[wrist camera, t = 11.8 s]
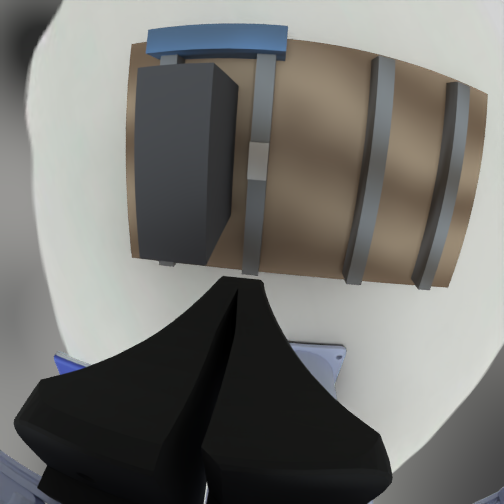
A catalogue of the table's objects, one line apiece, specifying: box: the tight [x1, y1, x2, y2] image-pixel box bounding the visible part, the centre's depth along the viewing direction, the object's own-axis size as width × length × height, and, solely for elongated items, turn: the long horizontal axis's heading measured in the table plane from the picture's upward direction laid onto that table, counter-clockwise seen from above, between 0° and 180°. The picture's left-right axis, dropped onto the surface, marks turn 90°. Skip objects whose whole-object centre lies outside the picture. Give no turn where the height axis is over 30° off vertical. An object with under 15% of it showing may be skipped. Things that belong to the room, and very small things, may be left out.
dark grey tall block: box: [134, 63, 239, 266], centre depth 14 cm, size 8×3×7 cm, turn 176°
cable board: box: [126, 24, 488, 290], centre depth 16 cm, size 15×24×3 cm, turn 86°
